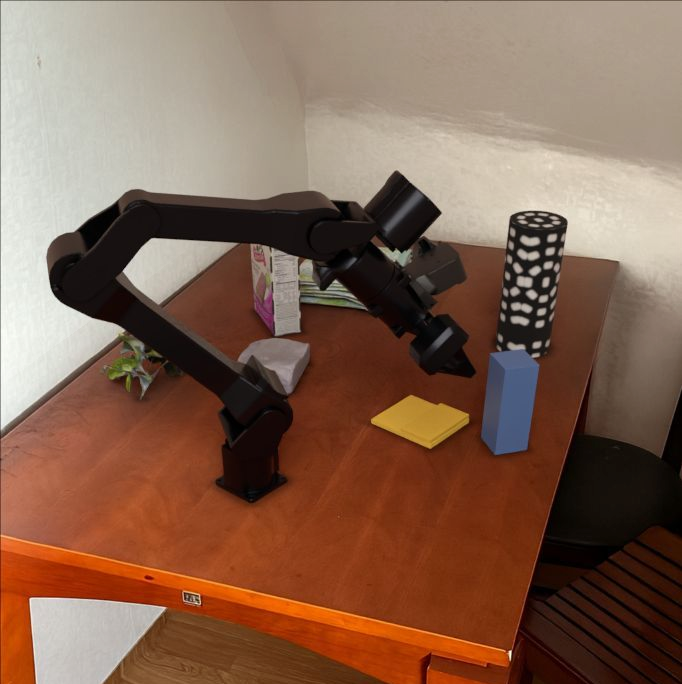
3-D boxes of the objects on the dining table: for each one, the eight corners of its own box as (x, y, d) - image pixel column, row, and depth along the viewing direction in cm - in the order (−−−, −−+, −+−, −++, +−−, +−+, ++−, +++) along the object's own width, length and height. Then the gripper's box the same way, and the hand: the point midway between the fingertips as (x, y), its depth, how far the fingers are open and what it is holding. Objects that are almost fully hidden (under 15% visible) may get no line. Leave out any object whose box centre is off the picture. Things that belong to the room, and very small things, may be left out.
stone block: (231, 401, 136) (296, 396, 133) (223, 370, 134) (289, 365, 131) (254, 366, 146) (316, 361, 143) (247, 337, 143) (309, 331, 141)
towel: (281, 304, 160) (281, 275, 157) (321, 260, 176) (320, 233, 173) (385, 318, 155) (386, 289, 152) (415, 272, 172) (417, 244, 169)
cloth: (430, 449, 123) (430, 440, 122) (370, 423, 128) (371, 415, 127) (469, 422, 129) (469, 414, 128) (410, 398, 134) (411, 390, 133)
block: (494, 455, 122) (505, 369, 115) (480, 437, 125) (490, 353, 118) (527, 450, 123) (539, 364, 116) (512, 432, 127) (523, 348, 119)
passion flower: (173, 408, 142) (216, 351, 136) (140, 432, 132) (184, 371, 126) (116, 359, 141) (156, 299, 135) (78, 379, 131) (120, 315, 126)
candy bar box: (252, 310, 157) (246, 213, 148) (280, 306, 159) (277, 209, 149) (272, 338, 149) (268, 237, 139) (302, 333, 151) (300, 232, 141)
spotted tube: (485, 339, 150) (499, 214, 138) (531, 331, 152) (548, 208, 140) (511, 361, 143) (527, 232, 131) (558, 353, 146) (579, 226, 134)
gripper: (458, 256, 96) (541, 342, 105) (397, 199, 111) (475, 279, 120) (383, 336, 99) (470, 412, 108) (333, 270, 113) (413, 343, 122)
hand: (458, 357), depth 115 cm, fingers open, 9 cm apart
